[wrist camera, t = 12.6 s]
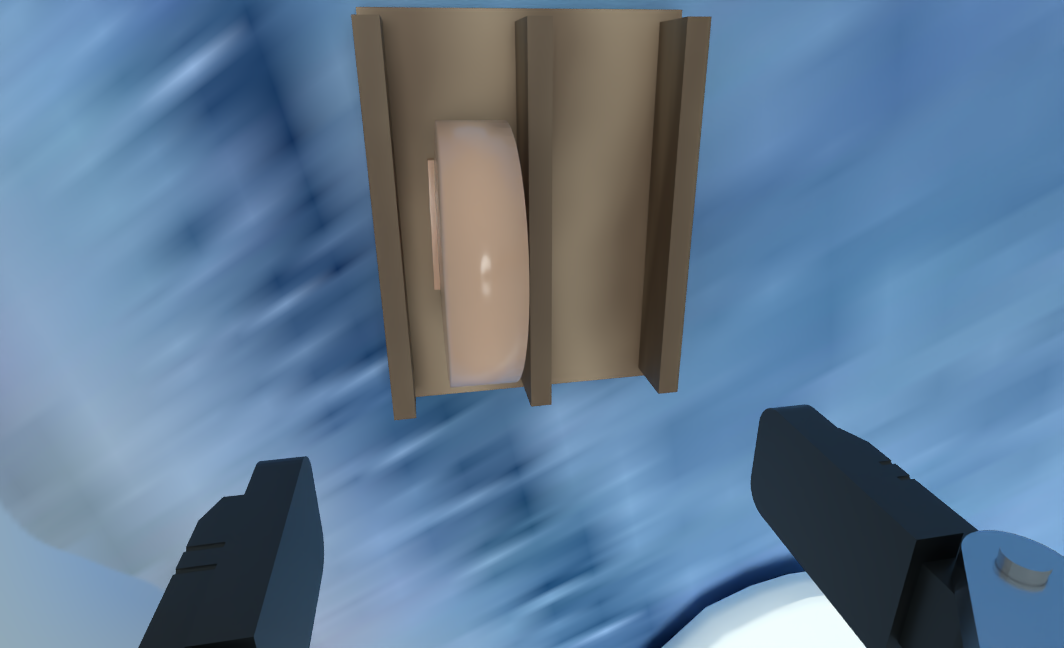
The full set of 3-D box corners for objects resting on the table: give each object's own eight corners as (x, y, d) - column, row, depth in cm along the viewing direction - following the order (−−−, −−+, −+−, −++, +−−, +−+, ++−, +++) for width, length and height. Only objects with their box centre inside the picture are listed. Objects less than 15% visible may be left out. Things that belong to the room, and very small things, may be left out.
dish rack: (671, 12, 28) (712, 2, 25) (647, 364, 35) (676, 400, 31) (358, 9, 26) (349, -2, 22) (396, 388, 33) (395, 429, 29)
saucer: (493, 111, 27) (539, 132, 18) (496, 320, 31) (535, 431, 22) (424, 111, 27) (433, 132, 17) (435, 324, 31) (449, 439, 21)
